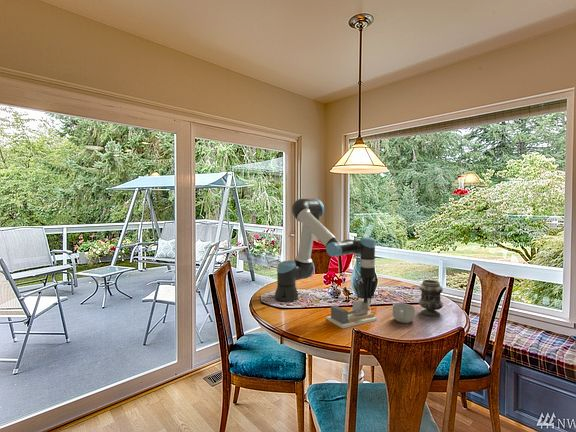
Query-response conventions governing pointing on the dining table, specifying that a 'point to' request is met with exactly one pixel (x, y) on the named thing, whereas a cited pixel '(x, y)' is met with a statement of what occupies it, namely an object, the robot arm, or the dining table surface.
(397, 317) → the teacup
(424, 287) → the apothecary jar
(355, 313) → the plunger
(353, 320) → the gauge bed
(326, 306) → the dining table surface
